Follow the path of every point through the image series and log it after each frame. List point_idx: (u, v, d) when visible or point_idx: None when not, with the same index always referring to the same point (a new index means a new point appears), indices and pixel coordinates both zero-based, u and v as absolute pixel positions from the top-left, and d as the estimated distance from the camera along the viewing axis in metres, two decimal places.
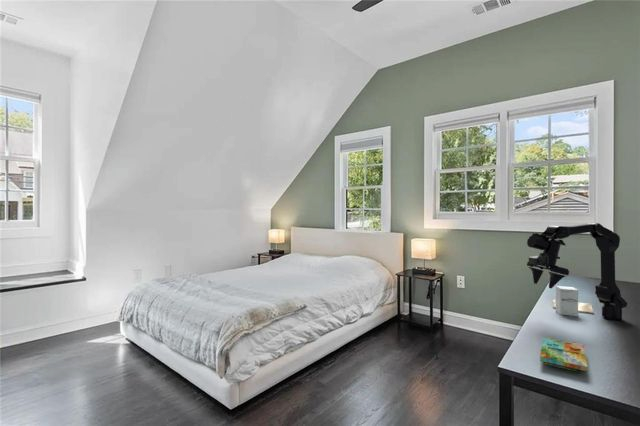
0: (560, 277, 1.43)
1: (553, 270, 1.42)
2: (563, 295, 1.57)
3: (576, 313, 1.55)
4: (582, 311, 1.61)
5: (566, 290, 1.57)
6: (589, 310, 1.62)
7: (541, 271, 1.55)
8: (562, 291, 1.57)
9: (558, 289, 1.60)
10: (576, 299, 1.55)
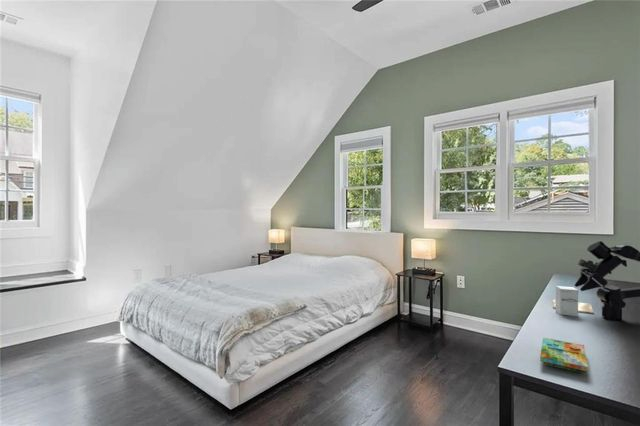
0: (596, 285, 1.49)
1: (591, 275, 1.49)
2: (563, 295, 1.57)
3: (576, 313, 1.55)
4: (582, 311, 1.61)
5: (566, 290, 1.57)
6: (589, 310, 1.62)
7: None
8: (562, 291, 1.57)
9: (558, 289, 1.60)
10: (576, 299, 1.55)
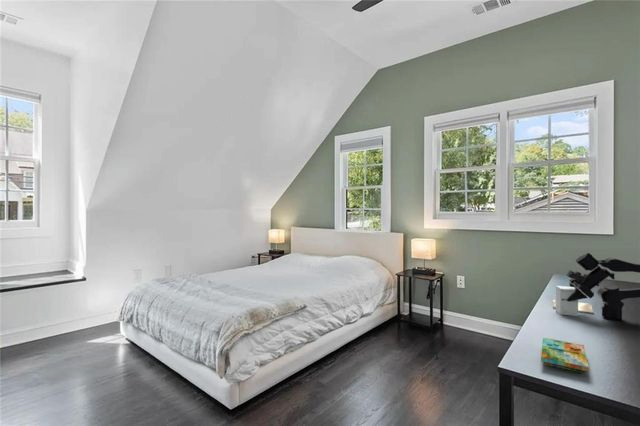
0: (582, 297, 1.52)
1: (578, 286, 1.51)
2: (563, 295, 1.57)
3: (576, 313, 1.55)
4: (582, 311, 1.61)
5: (566, 290, 1.57)
6: (589, 310, 1.62)
7: None
8: (562, 291, 1.57)
9: (558, 289, 1.60)
10: None
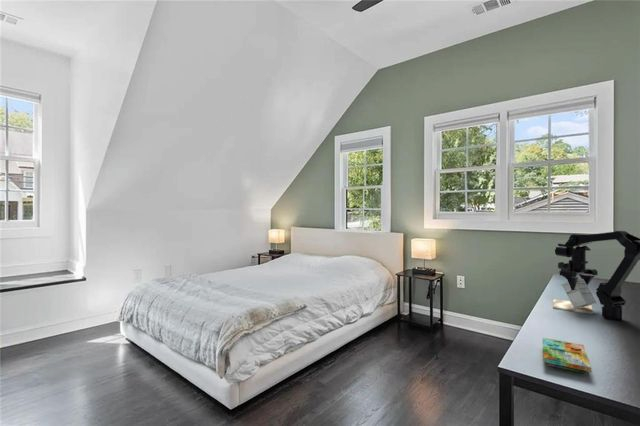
0: (573, 279, 1.63)
1: None
2: (566, 289, 1.69)
3: (583, 301, 1.61)
4: (582, 311, 1.61)
5: (565, 283, 1.69)
6: (589, 310, 1.62)
7: (588, 277, 1.66)
8: (563, 285, 1.70)
9: None
10: (576, 288, 1.64)
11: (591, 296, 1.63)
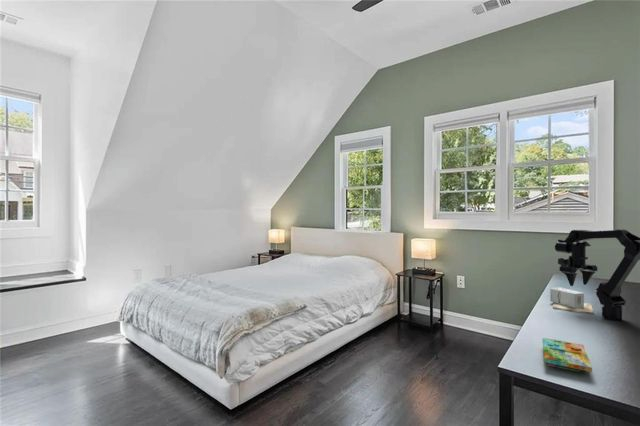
0: (572, 275, 1.63)
1: None
2: (555, 300, 1.74)
3: (570, 294, 1.67)
4: (582, 311, 1.61)
5: (551, 297, 1.77)
6: (589, 310, 1.62)
7: (589, 273, 1.66)
8: (552, 300, 1.76)
9: None
10: (558, 291, 1.73)
11: (575, 291, 1.70)
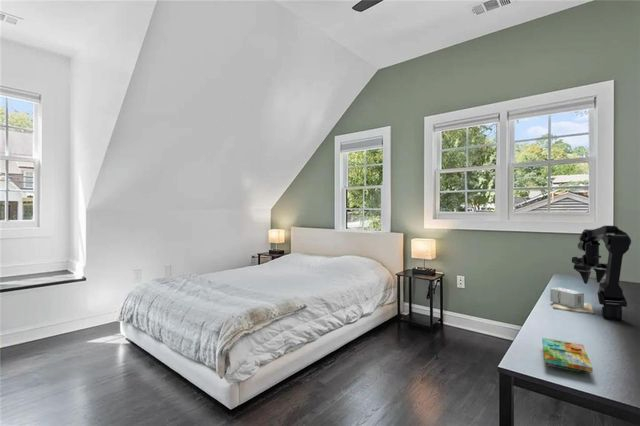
0: (586, 273, 1.68)
1: None
2: (555, 300, 1.74)
3: (571, 294, 1.67)
4: (582, 311, 1.61)
5: (551, 297, 1.77)
6: (589, 310, 1.62)
7: (603, 271, 1.71)
8: (552, 300, 1.76)
9: None
10: (558, 291, 1.73)
11: (575, 291, 1.70)
